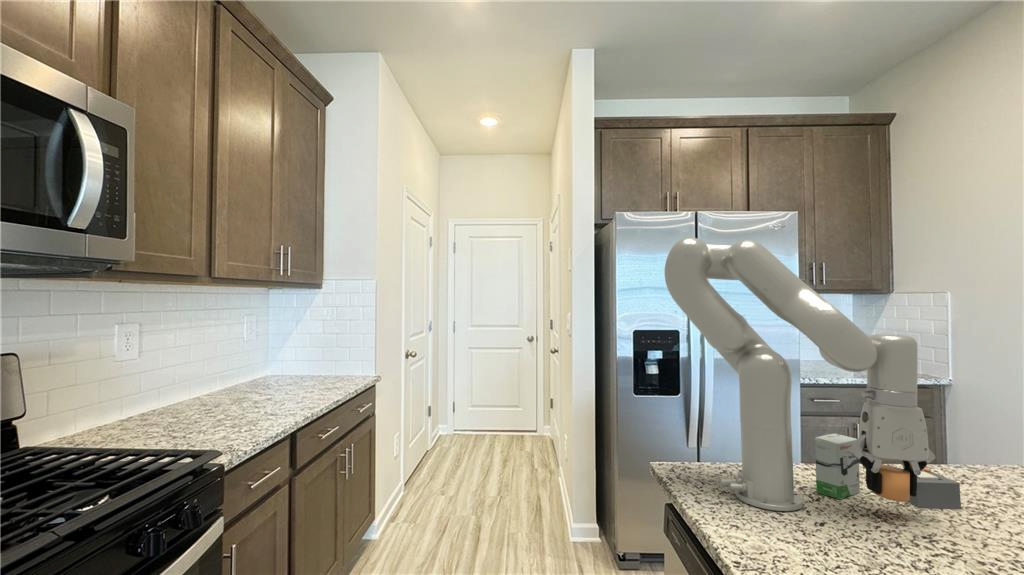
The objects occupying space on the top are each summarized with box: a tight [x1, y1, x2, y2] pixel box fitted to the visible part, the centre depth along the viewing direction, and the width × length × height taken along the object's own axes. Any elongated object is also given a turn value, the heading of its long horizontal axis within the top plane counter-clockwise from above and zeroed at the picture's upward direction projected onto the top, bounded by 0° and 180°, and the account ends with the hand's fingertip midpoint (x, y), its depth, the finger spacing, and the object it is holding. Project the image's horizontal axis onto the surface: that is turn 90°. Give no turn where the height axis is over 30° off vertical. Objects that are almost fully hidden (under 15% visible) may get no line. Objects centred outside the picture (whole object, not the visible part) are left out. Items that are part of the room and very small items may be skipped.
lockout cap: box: [872, 464, 910, 503], centre depth 88 cm, size 6×6×5 cm
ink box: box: [814, 433, 861, 500], centre depth 100 cm, size 9×5×12 cm, turn 117°
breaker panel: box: [907, 467, 962, 510], centre depth 95 cm, size 8×8×6 cm
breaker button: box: [917, 471, 939, 480], centre depth 95 cm, size 4×4×4 cm
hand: (891, 491), depth 88 cm, fingers closed on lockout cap, 5 cm apart
